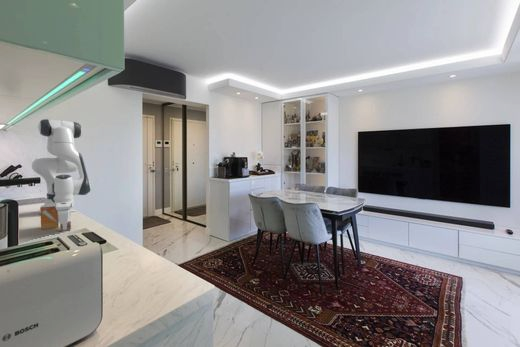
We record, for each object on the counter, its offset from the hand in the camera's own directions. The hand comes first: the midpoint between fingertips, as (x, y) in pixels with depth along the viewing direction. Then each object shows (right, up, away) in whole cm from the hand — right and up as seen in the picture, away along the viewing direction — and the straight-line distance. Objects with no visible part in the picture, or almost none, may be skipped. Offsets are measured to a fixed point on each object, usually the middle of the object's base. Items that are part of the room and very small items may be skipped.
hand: (65, 227), depth 150 cm
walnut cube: (0, -2, 0) cm, 2 cm away
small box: (-12, -1, +4) cm, 13 cm away
